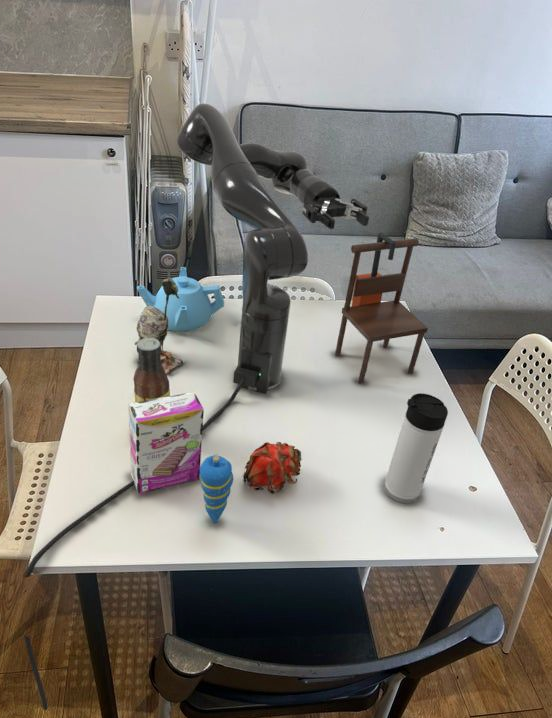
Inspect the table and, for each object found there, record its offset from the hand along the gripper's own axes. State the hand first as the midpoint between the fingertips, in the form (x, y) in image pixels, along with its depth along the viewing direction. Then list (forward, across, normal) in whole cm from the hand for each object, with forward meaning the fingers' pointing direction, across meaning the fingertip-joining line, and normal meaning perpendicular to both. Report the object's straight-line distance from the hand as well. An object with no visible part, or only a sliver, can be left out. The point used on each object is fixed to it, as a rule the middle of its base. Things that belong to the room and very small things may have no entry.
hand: (349, 223), depth 141 cm
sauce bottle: (+28, +52, -25) cm, 64 cm away
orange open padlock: (+15, 0, -16) cm, 22 cm away
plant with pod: (+6, +46, -25) cm, 53 cm away
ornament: (+52, +49, -25) cm, 76 cm away
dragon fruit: (+46, +37, -25) cm, 64 cm away
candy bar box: (+40, +54, -25) cm, 71 cm away
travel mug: (+55, +15, -25) cm, 62 cm away
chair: (+20, 0, -25) cm, 32 cm away
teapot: (-9, +36, -25) cm, 44 cm away
